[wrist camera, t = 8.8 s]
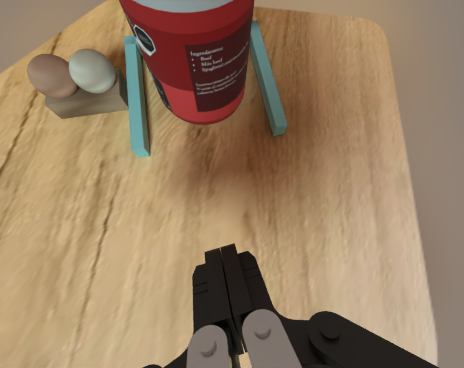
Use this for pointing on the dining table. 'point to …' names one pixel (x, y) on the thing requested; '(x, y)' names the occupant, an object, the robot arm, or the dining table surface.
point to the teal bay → (138, 98)
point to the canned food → (194, 53)
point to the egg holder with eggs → (79, 84)
